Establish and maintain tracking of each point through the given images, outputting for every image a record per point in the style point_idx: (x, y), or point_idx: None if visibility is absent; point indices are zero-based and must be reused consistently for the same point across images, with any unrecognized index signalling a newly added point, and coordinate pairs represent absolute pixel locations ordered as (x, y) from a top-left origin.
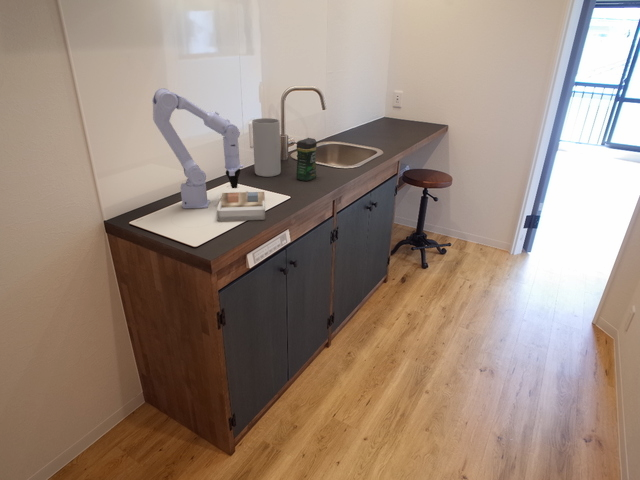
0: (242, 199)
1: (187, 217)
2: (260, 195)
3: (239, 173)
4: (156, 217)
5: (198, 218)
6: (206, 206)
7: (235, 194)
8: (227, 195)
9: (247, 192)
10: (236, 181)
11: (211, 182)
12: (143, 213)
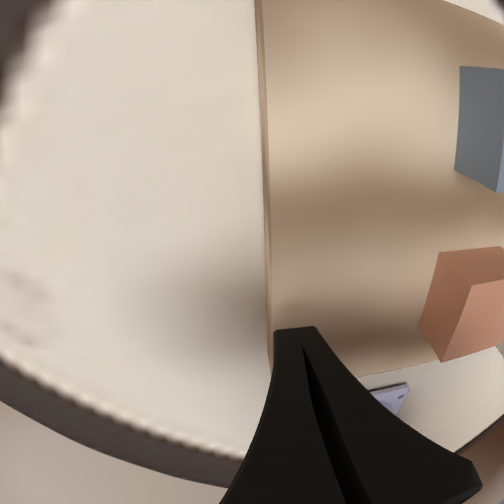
0: (468, 220)
1: (462, 401)
2: (396, 26)
3: (478, 476)
4: None
5: (488, 370)
6: (405, 391)
7: (499, 300)
8: (343, 349)
9: (282, 178)
10: (349, 394)
11: (16, 403)
12: None
